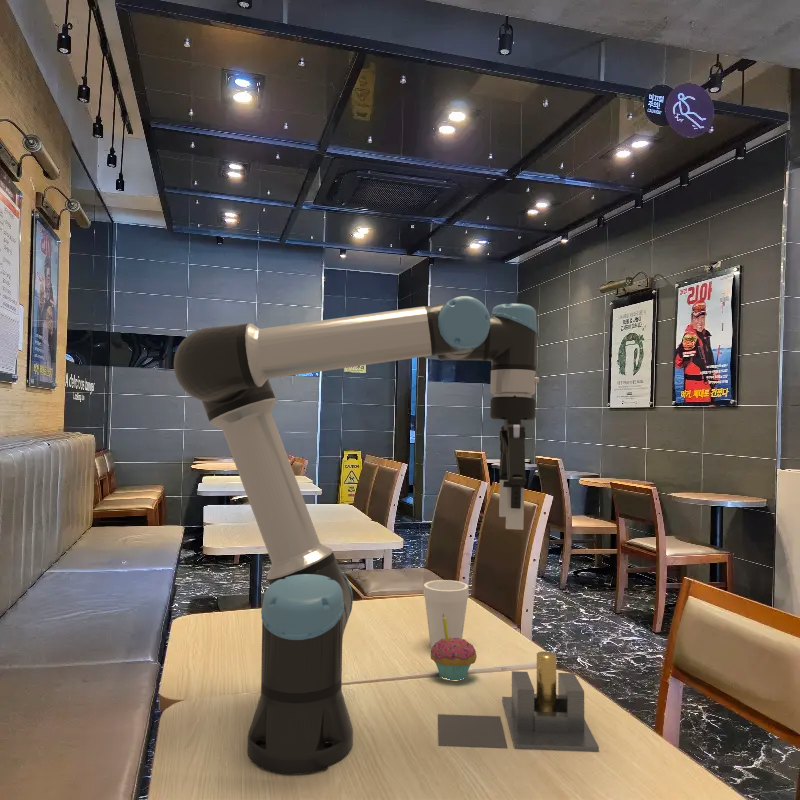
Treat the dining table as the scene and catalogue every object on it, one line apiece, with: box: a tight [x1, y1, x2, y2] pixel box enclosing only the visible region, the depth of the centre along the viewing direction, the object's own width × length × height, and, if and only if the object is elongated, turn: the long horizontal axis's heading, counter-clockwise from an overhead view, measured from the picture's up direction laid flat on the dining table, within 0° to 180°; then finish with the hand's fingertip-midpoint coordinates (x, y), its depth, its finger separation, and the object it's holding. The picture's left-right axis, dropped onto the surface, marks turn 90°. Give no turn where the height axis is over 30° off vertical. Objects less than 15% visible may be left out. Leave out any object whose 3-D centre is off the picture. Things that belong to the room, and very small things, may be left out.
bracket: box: [501, 670, 600, 753], centre depth 99 cm, size 12×16×7 cm
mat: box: [437, 713, 509, 749], centre depth 96 cm, size 10×10×1 cm
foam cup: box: [423, 579, 470, 648], centre depth 134 cm, size 10×9×13 cm
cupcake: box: [430, 614, 477, 680], centre depth 118 cm, size 9×8×12 cm
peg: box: [536, 651, 557, 712], centre depth 99 cm, size 3×3×10 cm
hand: (510, 522), depth 106 cm, fingers open, 13 cm apart
